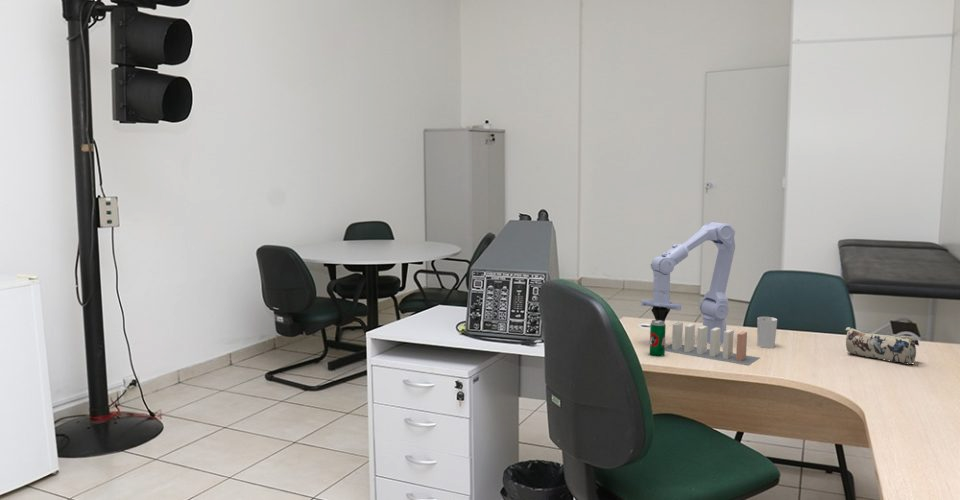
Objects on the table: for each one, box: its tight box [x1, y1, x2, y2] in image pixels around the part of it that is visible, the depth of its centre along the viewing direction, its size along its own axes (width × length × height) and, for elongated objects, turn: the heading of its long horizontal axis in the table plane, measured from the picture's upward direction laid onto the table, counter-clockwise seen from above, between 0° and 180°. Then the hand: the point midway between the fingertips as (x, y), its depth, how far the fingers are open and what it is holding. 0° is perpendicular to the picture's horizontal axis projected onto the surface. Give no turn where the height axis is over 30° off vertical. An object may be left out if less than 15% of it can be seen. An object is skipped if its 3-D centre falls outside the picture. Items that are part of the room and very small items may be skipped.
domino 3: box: [696, 325, 708, 354], centre depth 251 cm, size 2×5×9 cm, turn 141°
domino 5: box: [722, 328, 735, 359], centre depth 245 cm, size 2×5×9 cm, turn 141°
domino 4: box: [709, 327, 721, 357], centre depth 248 cm, size 2×5×9 cm, turn 141°
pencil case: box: [845, 326, 920, 365], centre depth 245 cm, size 22×8×10 cm, turn 44°
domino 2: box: [683, 323, 696, 352], centre depth 254 cm, size 2×5×9 cm, turn 142°
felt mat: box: [665, 343, 761, 366], centre depth 250 cm, size 12×31×1 cm, turn 52°
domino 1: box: [671, 321, 684, 350], centre depth 256 cm, size 2×5×9 cm, turn 142°
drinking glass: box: [756, 316, 778, 349], centre depth 262 cm, size 7×7×10 cm
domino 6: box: [735, 330, 748, 361], centre depth 242 cm, size 2×5×9 cm, turn 141°
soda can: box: [649, 319, 666, 357], centre depth 248 cm, size 5×5×12 cm
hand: (660, 327), depth 260 cm, fingers closed
